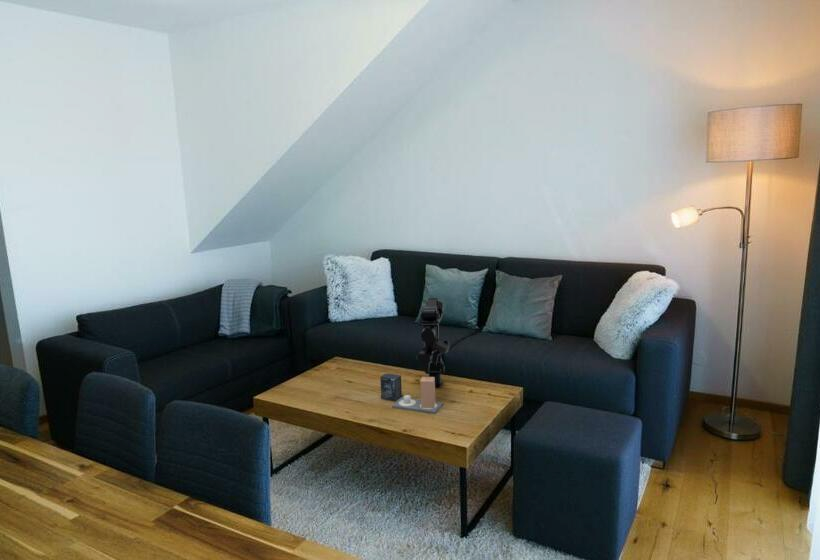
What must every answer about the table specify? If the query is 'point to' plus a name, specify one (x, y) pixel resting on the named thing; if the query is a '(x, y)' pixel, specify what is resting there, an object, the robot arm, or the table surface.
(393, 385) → the box
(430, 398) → the pink block
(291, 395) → the table surface
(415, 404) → the plate
